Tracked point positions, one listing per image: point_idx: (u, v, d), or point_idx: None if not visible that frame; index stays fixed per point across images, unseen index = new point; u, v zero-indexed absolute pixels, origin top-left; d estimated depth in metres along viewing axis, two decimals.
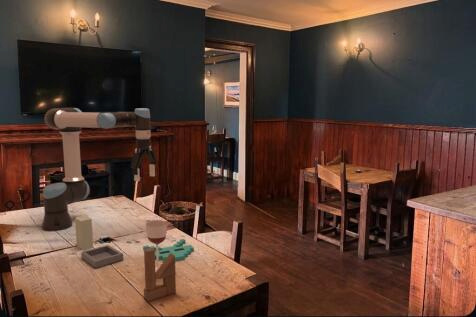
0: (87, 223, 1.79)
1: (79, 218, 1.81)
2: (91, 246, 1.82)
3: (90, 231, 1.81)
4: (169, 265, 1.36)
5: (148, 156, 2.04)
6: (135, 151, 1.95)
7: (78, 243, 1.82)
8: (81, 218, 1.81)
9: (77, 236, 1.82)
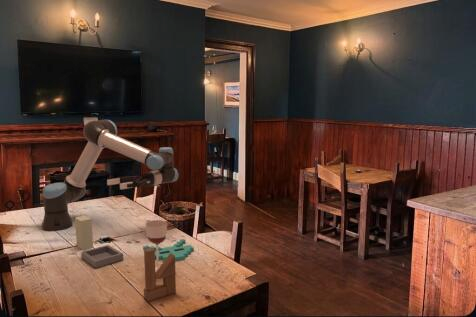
0: (87, 223, 1.79)
1: (79, 218, 1.81)
2: (91, 246, 1.82)
3: (90, 231, 1.81)
4: (169, 265, 1.36)
5: (131, 180, 2.00)
6: (148, 181, 1.95)
7: (78, 243, 1.82)
8: (81, 218, 1.81)
9: (77, 236, 1.82)
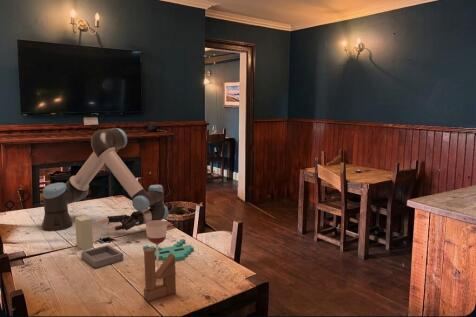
0: (87, 223, 1.79)
1: (79, 218, 1.81)
2: (91, 246, 1.82)
3: (90, 231, 1.81)
4: (169, 265, 1.36)
5: (120, 220, 1.98)
6: (137, 222, 1.93)
7: (78, 243, 1.82)
8: (81, 218, 1.81)
9: (77, 236, 1.82)
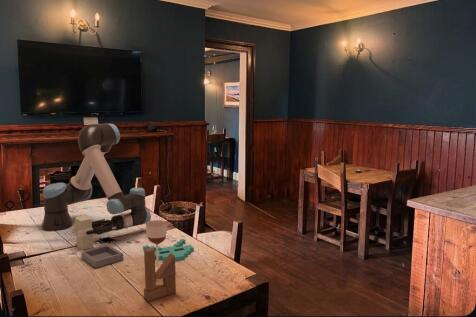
0: (87, 223, 1.79)
1: (79, 218, 1.81)
2: (91, 246, 1.82)
3: None
4: (169, 265, 1.36)
5: (99, 225, 1.89)
6: (113, 227, 1.85)
7: (78, 243, 1.82)
8: (81, 218, 1.81)
9: (77, 236, 1.82)
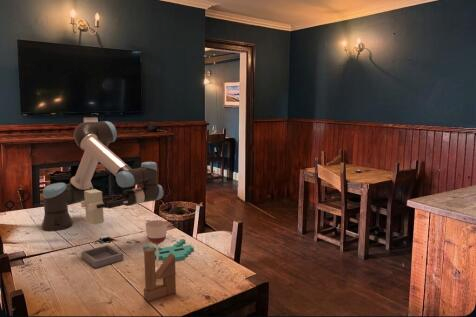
0: (97, 196, 1.68)
1: (89, 191, 1.70)
2: (102, 221, 1.71)
3: None
4: (169, 265, 1.36)
5: (109, 200, 1.79)
6: (125, 201, 1.75)
7: (88, 218, 1.71)
8: (91, 191, 1.70)
9: (87, 210, 1.71)
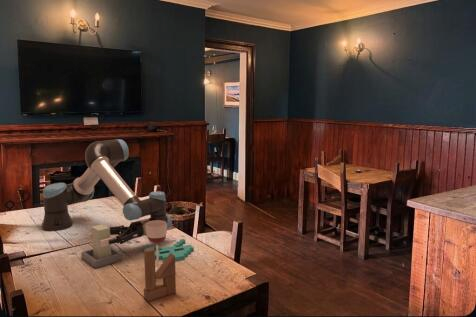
0: (105, 233, 1.64)
1: (96, 227, 1.66)
2: None
3: None
4: (169, 265, 1.36)
5: (116, 232, 1.75)
6: (135, 235, 1.70)
7: (95, 254, 1.67)
8: (98, 227, 1.66)
9: (94, 247, 1.67)
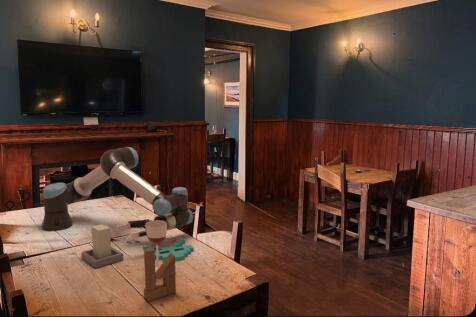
0: (105, 233, 1.64)
1: (96, 227, 1.66)
2: None
3: (108, 241, 1.66)
4: (169, 265, 1.36)
5: (142, 225, 1.84)
6: None
7: (95, 254, 1.67)
8: (98, 227, 1.66)
9: (94, 247, 1.67)
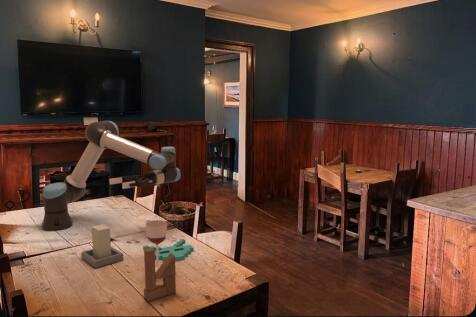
0: (105, 233, 1.64)
1: (96, 227, 1.66)
2: None
3: (108, 241, 1.66)
4: (169, 265, 1.36)
5: (133, 180, 2.00)
6: (150, 181, 1.95)
7: (95, 254, 1.67)
8: (98, 227, 1.66)
9: (94, 247, 1.67)
